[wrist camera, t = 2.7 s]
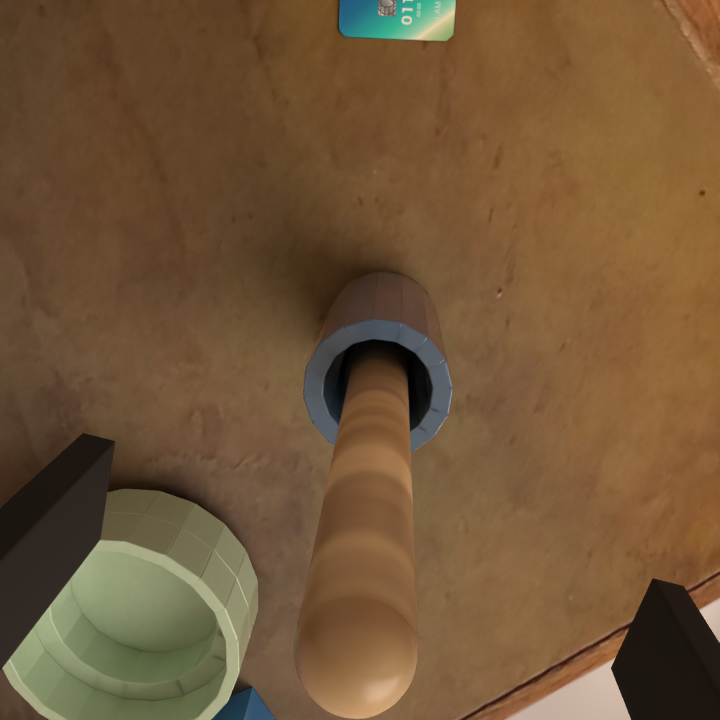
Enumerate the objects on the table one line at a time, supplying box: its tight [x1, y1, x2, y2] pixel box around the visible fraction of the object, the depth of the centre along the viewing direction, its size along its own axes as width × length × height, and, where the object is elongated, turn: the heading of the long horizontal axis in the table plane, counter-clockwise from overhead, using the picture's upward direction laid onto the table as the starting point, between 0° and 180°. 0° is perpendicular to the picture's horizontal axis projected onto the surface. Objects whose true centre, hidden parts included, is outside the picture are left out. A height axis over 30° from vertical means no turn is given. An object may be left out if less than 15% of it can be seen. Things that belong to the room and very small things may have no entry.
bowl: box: [2, 489, 258, 720], centre depth 39 cm, size 13×13×6 cm
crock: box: [303, 271, 453, 453], centre depth 31 cm, size 6×6×10 cm
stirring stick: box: [294, 339, 418, 719], centre depth 23 cm, size 2×2×24 cm
